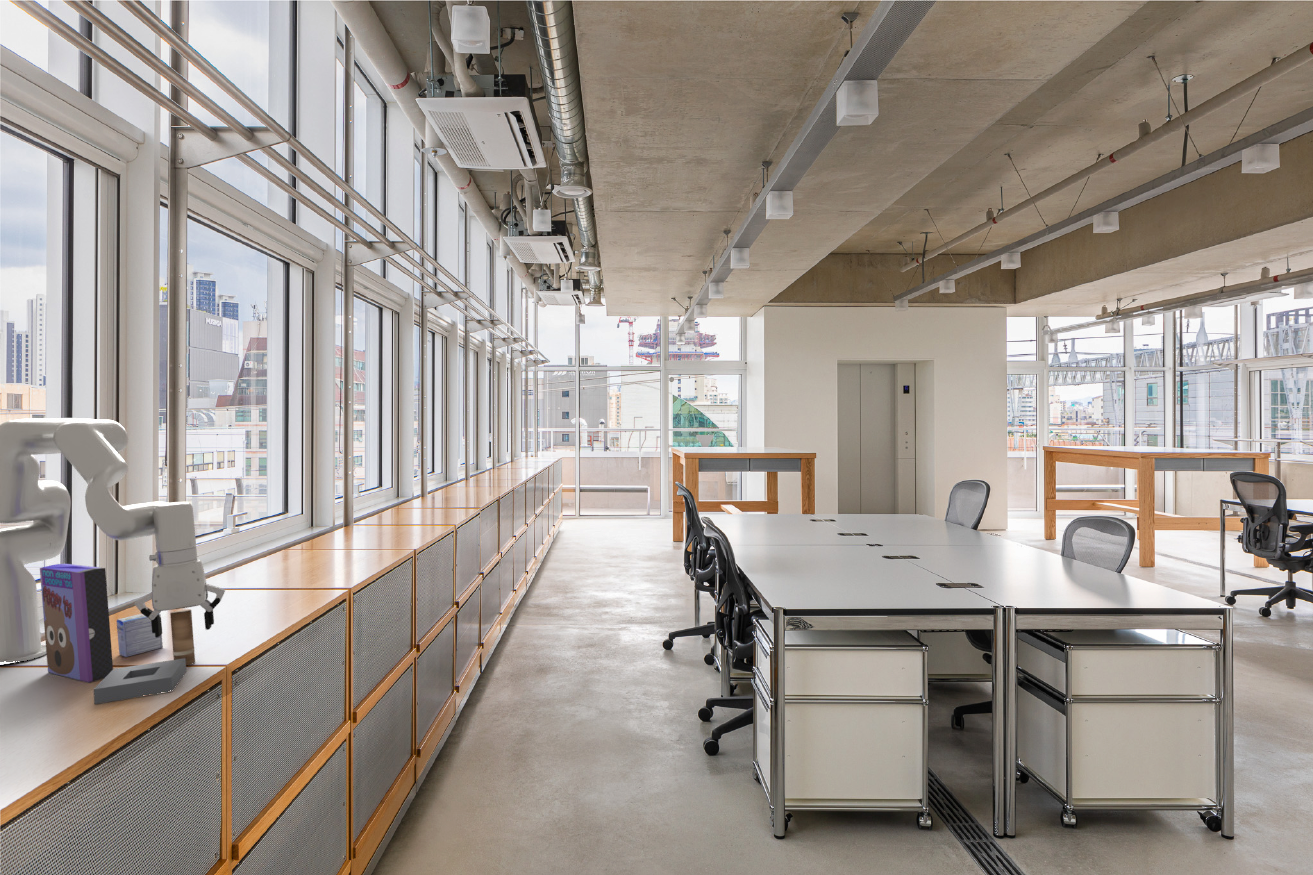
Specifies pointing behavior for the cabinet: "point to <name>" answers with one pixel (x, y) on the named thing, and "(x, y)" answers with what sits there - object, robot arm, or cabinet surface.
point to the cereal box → (76, 621)
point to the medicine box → (136, 635)
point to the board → (139, 680)
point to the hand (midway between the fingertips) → (184, 631)
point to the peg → (182, 635)
